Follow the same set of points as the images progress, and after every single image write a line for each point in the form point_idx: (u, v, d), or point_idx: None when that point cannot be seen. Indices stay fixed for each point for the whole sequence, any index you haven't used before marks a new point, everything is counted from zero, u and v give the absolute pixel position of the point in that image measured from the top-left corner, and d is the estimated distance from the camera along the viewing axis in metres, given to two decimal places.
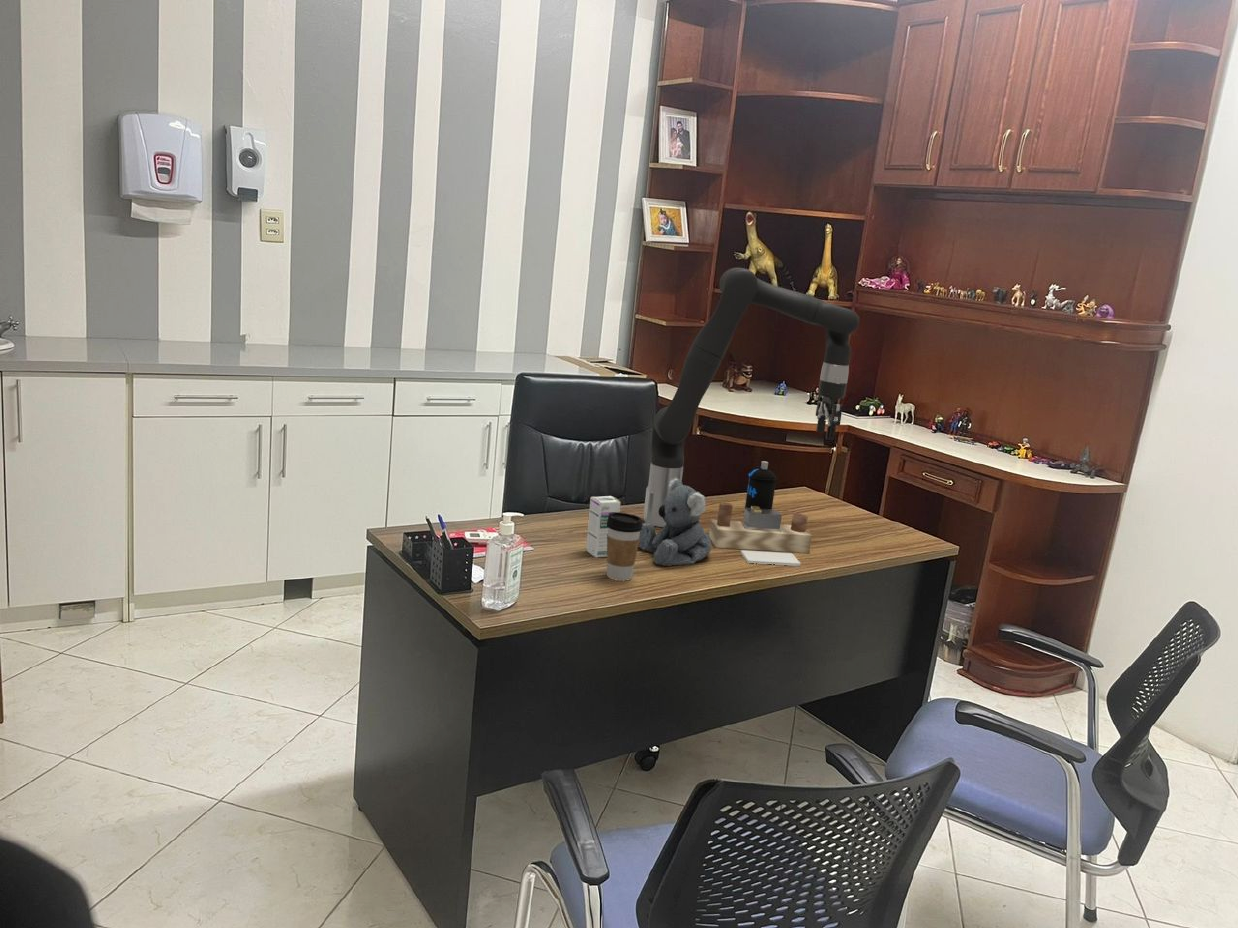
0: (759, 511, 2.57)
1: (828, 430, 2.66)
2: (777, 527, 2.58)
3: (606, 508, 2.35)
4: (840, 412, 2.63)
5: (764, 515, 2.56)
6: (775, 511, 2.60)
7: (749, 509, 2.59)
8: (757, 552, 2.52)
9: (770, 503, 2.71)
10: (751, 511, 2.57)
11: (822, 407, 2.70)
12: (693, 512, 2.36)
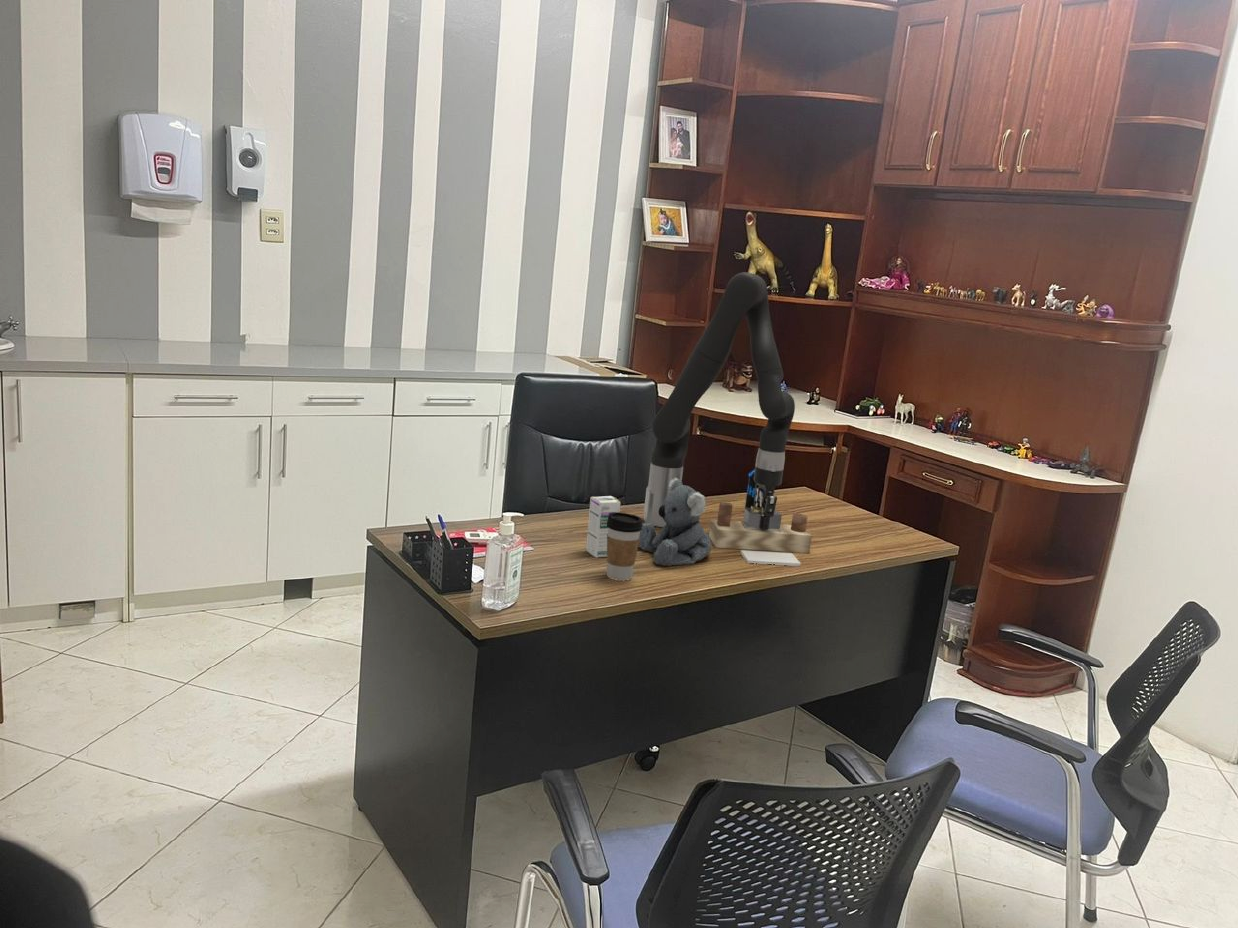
0: (759, 511, 2.57)
1: (762, 520, 2.56)
2: (777, 527, 2.58)
3: (606, 508, 2.35)
4: (774, 504, 2.52)
5: None
6: (775, 511, 2.60)
7: (749, 509, 2.59)
8: (757, 552, 2.52)
9: None
10: (751, 511, 2.57)
11: (759, 494, 2.58)
12: (693, 512, 2.36)
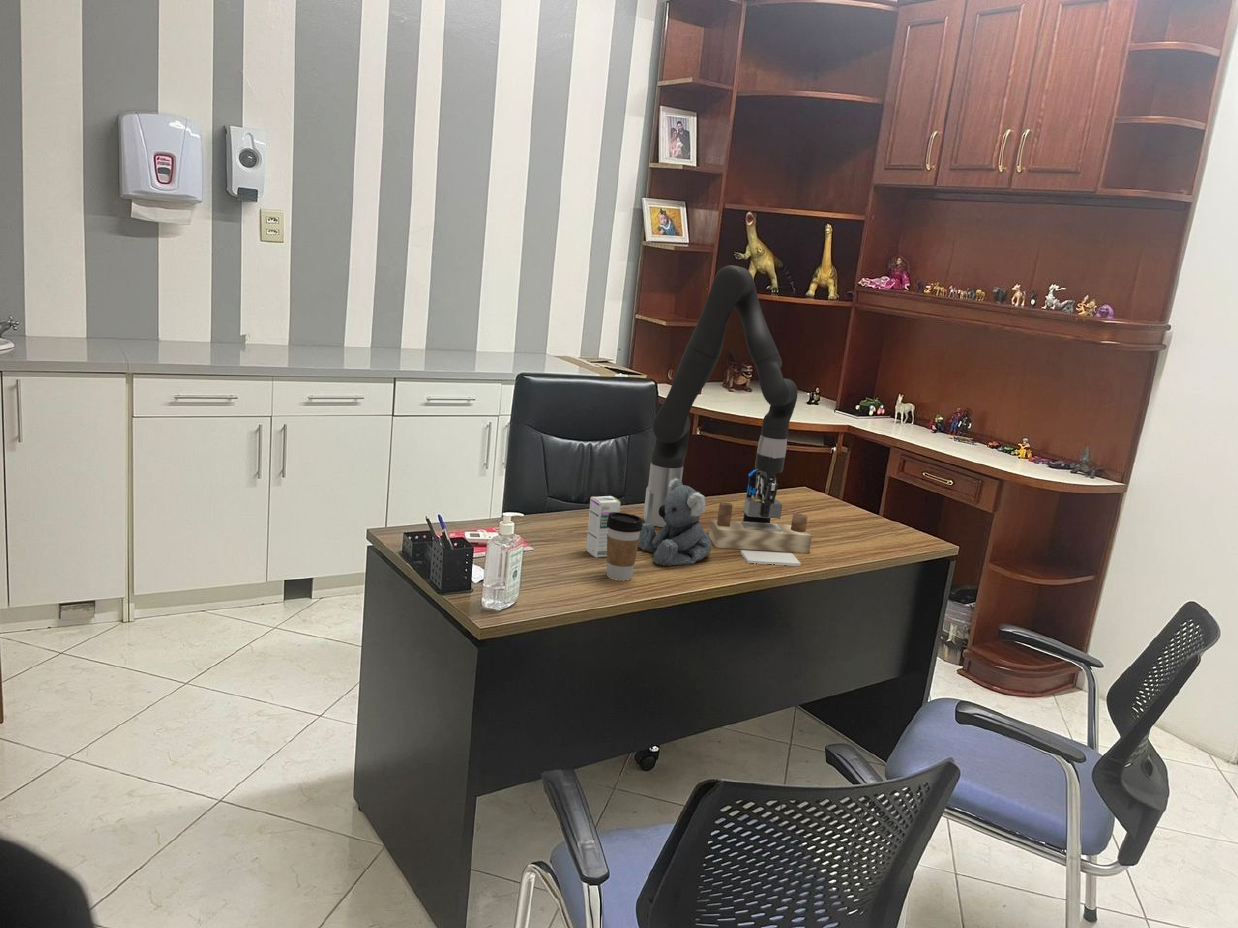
0: (760, 500, 2.56)
1: (762, 507, 2.55)
2: (778, 517, 2.57)
3: (606, 508, 2.35)
4: (775, 492, 2.51)
5: None
6: (775, 501, 2.59)
7: (750, 498, 2.59)
8: (757, 552, 2.52)
9: None
10: (752, 500, 2.57)
11: (760, 481, 2.58)
12: (693, 512, 2.36)
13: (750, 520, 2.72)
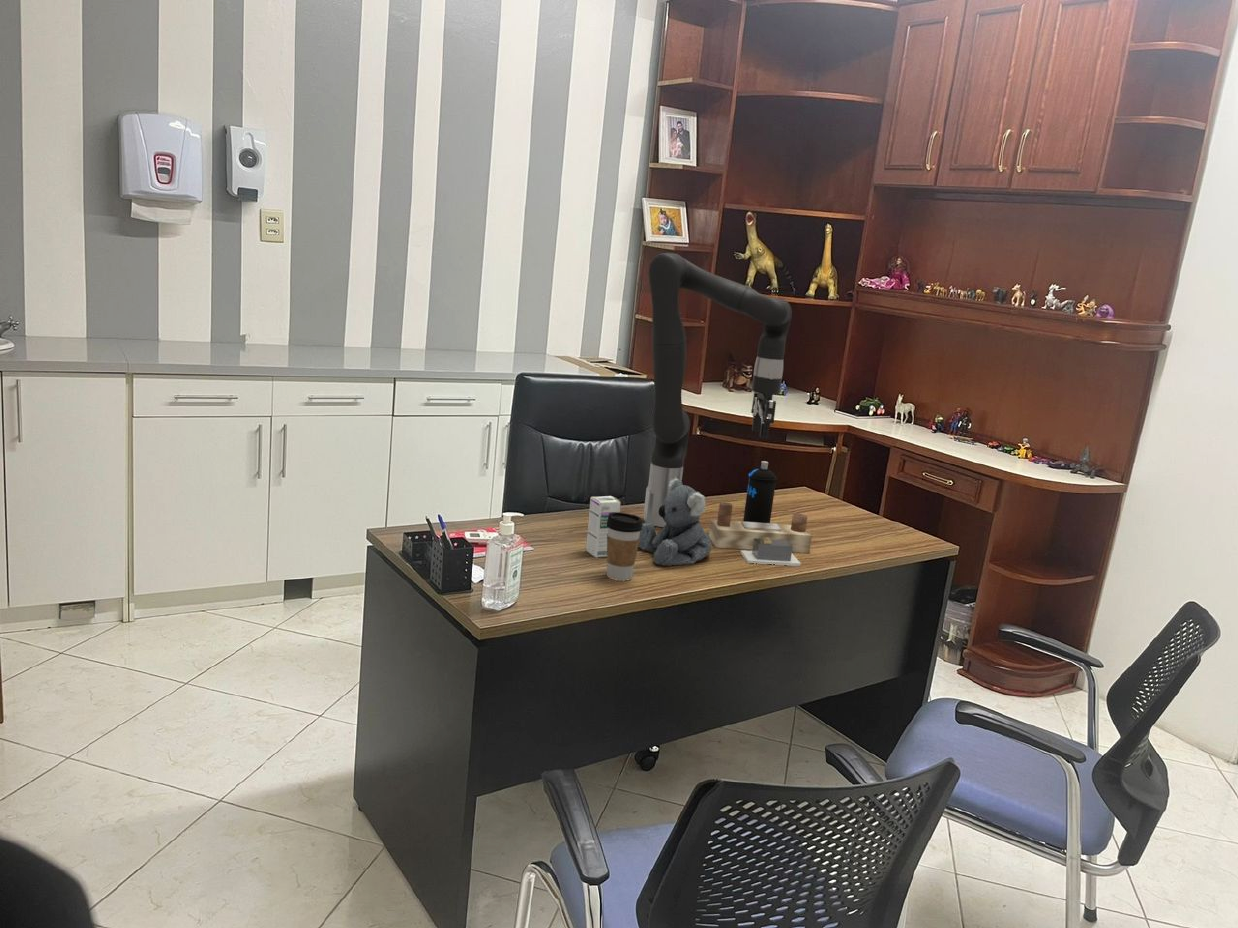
0: (769, 542, 2.46)
1: (762, 428, 2.51)
2: (788, 559, 2.47)
3: (606, 508, 2.35)
4: (773, 409, 2.48)
5: (774, 546, 2.46)
6: (785, 542, 2.49)
7: (758, 540, 2.49)
8: None
9: (770, 503, 2.71)
10: (761, 542, 2.47)
11: (756, 404, 2.56)
12: (693, 512, 2.36)
13: (750, 520, 2.72)
